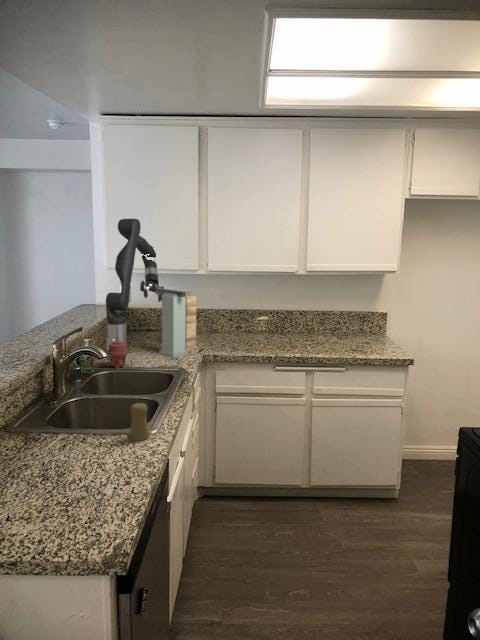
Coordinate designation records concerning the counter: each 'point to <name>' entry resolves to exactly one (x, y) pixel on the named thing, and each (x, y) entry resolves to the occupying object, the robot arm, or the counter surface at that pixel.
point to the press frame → (173, 325)
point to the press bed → (190, 322)
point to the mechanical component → (118, 353)
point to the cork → (139, 423)
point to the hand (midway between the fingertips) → (153, 299)
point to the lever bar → (171, 292)
